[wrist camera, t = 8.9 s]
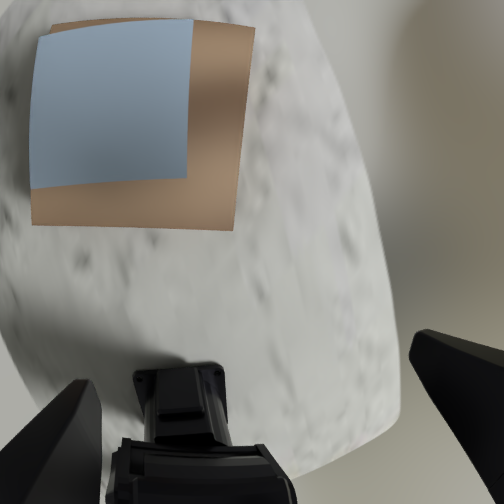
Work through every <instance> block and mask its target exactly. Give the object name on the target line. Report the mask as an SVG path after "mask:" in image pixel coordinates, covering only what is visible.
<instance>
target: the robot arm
mask: <svg viewBox="0 0 504 504" xmlns="http://www.w3.org/2000/svg"><path fill="white" fill-rule="evenodd" d="M409 360H410V363H411V364H412V366H413V368H414V370H415V372H416V373H417V375H418V377H419V379H420V381H421V382H422V384H423V386H424V388H425V390H426V392H427V393H428V395H429V397H430V398H431V400H432V402H433V403H434V405H435V406H436V408H437V409H438V411H439V412H440V414H441V415H442V417H443V418H444V420H445V421H446V423H447V424H448V426H449V427H450V429H451V430H452V432H453V433H454V435H455V437H456V438H457V440H458V441H459V443H460V444H461V446H462V448H463V449H464V451H465V452H466V454H467V455H468V457H469V459H470V461H471V462H472V464H473V465H474V467H475V469H476V470H477V472H478V474H479V475H480V477H481V479H482V480H483V482H484V484H485V485H486V487H487V489H488V491H489V493H490V495H491V496H492V498H493V500H494V502H495V503H496V504H504V351H503V350H499V349H495V348H492V347H489V346H485V345H481V344H477V343H474V342H471V341H467V340H464V339H461V338H457V337H453V336H450V335H447V334H443V333H440V332H437V331H433V330H430V329H424V330H420V331H418V332H416V333H415V335H414V337H413V341H412V344H411V347H410V351H409ZM215 371H219V372H218V373H215ZM137 377H141V378H142V379H139V378H137ZM133 382H134V386H135V389H136V393H137V396H138V399H139V403H140V406H141V409H142V412H143V415H144V418H145V424H144V442H143V441H135V440H131V438H123V437H122V445H121V447H118V451H116V452H114V453H112V462H111V473H110V478H109V482H108V487H107V491H106V496H105V502H106V504H297V497H296V493H295V489H294V487H293V484H292V482H291V481H290V479H289V478H288V476H287V475H286V474H285V472H284V471H283V470H282V468H281V467H280V466H279V464H278V463H277V462H276V460H275V459H274V458H273V456H272V455H271V454H270V452H269V451H268V449H267V448H266V447H265V445H264V444H255V445H254V446H233V445H232V442H231V438H230V434H229V430H228V426H227V424H228V418H227V403H226V388H225V372H224V369H223V367H222V366H221V365H208V366H198V367H187V368H175V369H161V370H143V371H136V372H134V374H133ZM101 471H102V409H101V403H100V400H99V398H98V395H97V393H96V390H95V387H94V385H93V382H92V381H91V380H90V379H75V380H73V381H72V382H71V383H70V384H69V385H68V386H67V387H66V388H65V389H64V390H63V391H62V392H60V393H59V394H58V395H57V396H56V397H55V398H54V399H53V400H52V401H51V402H50V403H49V404H48V405H47V406H46V407H45V408H44V409H43V410H42V411H41V412H40V413H38V414H37V416H35V417H34V418H33V419H32V420H31V421H30V422H29V423H28V424H27V425H26V426H25V427H24V428H23V429H22V430H21V431H20V432H19V433H18V434H17V435H16V436H15V437H14V438H13V439H12V440H11V441H10V442H9V443H8V444H7V445H6V446H5V447H4V448H3V449H2V450H1V451H0V504H99V502H100V485H101Z"/></svg>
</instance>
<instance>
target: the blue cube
mask: <svg viewBox="0 0 504 504" xmlns="http://www.w3.org/2000/svg"><path fill="white" fill-rule="evenodd" d="M193 22H194V19H167V20H145V21H131V22H121V23H112V24H104V25H96V26H90V27H84V28H78V29H72V30H67V31H62V32H58V33H53V34H49V35H45V36H41V37H39V41H38V47H37V53H36V59H35V66H34V74H33V83H32V93H31V106H30V126H29V169H30V189H38V188H47V187H56V186H66V185H77V184H88V183H101V182H115V181H131V180H151V179H178V178H187V132H188V101H189V79H190V62H191V47H192V34H193Z"/></svg>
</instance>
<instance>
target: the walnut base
mask: <svg viewBox="0 0 504 504" xmlns="http://www.w3.org/2000/svg"><path fill="white" fill-rule="evenodd" d="M167 19H172V18H115V19H99V20H87V21H78V22H69V23H62V24H55V25H52V27H51V30H50V34H53V33H58V32H62V31H67V30H72V29H78V28H84V27H90V26H96V25H104V24H112V23H121V22H131V21H145V20H167ZM254 35H255V28H254V27H248V26H242V25H235V24H228V23H220V22H211V21H201V20H194V22H193V34H192V47H191V62H190V79H189V101H188V132H187V178H178V179H151V180H131V181H115V182H101V183H88V184H77V185H66V186H56V187H47V188H38V189H31V219H32V225H44V226H99V227H137V228H168V229H196V230H220V231H233V226H234V216H235V205H236V195H237V185H238V175H239V165H240V156H241V146H242V137H243V128H244V119H245V110H246V101H247V92H248V84H249V75H250V67H251V59H252V51H253V43H254Z"/></svg>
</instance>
